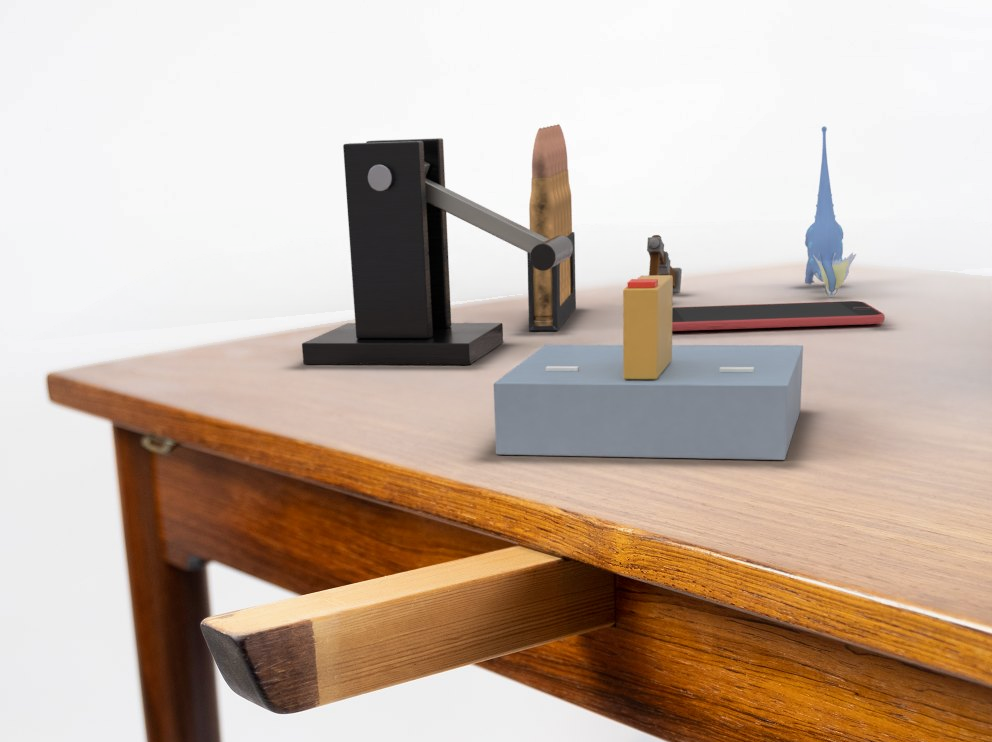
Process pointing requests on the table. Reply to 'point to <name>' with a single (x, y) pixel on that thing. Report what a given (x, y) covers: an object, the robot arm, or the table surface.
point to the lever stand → (399, 265)
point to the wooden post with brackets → (662, 262)
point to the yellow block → (647, 326)
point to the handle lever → (500, 226)
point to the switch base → (651, 403)
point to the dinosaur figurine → (826, 238)
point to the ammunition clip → (551, 232)
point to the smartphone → (774, 315)
